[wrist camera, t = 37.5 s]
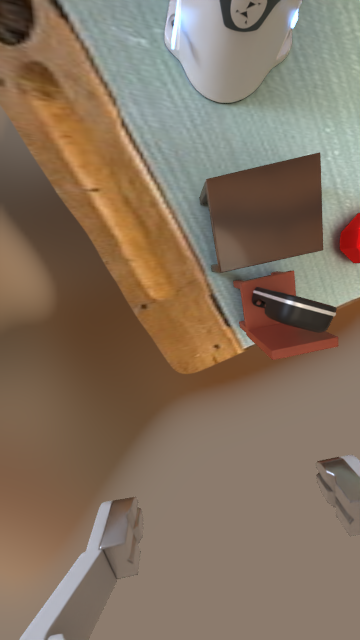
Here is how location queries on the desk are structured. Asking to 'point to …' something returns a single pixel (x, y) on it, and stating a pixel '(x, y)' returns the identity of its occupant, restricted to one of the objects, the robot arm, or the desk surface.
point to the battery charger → (294, 310)
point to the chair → (274, 334)
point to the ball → (351, 240)
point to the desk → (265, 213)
